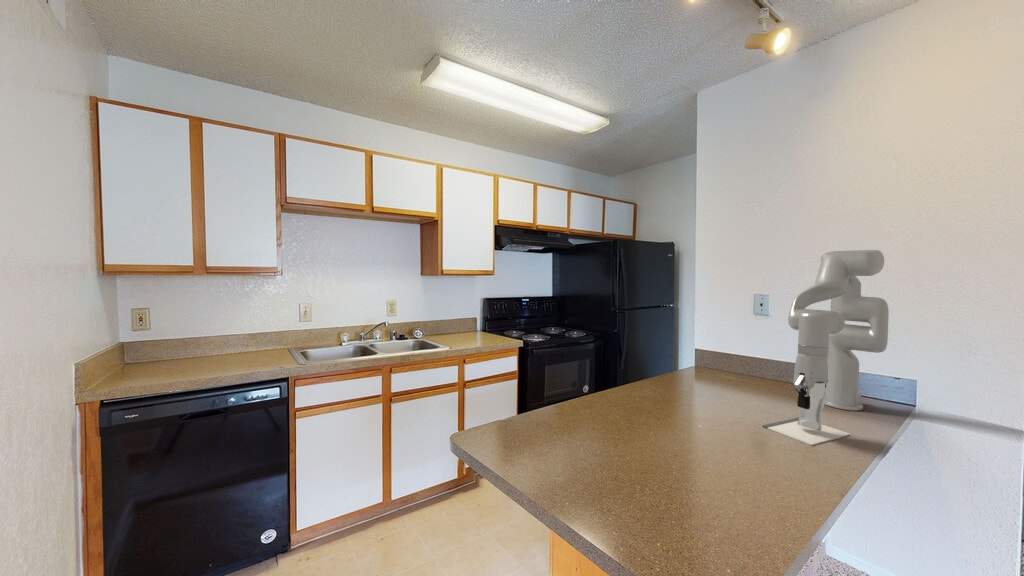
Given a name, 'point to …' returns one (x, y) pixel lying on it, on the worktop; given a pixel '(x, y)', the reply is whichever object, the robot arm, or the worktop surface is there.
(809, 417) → the beer glass
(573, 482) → the worktop surface
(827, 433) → the mat
